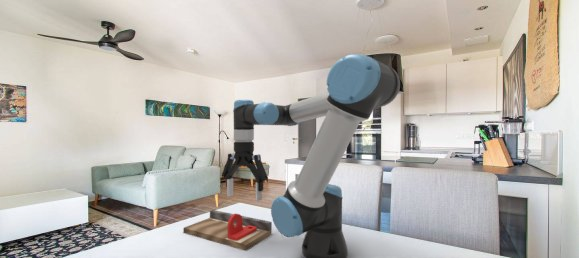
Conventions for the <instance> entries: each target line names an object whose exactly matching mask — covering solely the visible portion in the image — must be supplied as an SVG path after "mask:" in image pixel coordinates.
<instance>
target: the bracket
mask: <svg viewBox="0 0 579 258" xmlns="http://www.w3.org/2000/svg"><path fill="white" fill-rule="evenodd" d="M232 214H233V215H232V216H231V217H230V219H229V221H228V239H232V240H235V241H238V240H240V239H242V238H244V237H246V236H248V235H250V234H251V233H253V232H255V231H257V227H255V226H251V225H248V226H246V227H244V228H243V220H242V216H243V215H241V214H240V213H232ZM235 220H237V224H236V226H235V227H234V222H235Z"/></svg>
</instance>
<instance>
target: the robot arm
mask: <svg viewBox="0 0 579 258" xmlns="http://www.w3.org/2000/svg"><path fill="white" fill-rule="evenodd" d="M326 85H327V89H326V90H327V92H324V93H321V94H317V95H315V96H311V97H309V98H304V99H302V100H300V101H296V102H293V103H289V104H287V105H280V104H279V105H278V104H274V103H272V102H261V103H254V101H253V100H252V99H236V100H234V102H233V110H232V111H233V112H232V113H233V141H234V142H233V152H234V153H228V154H227V160H226V163H225V165H224V168H223V170H222V173H221V177H222V178H225V186H226V197H232V196H234V177H233V176H234V175H235V173H236V172H237V171H238V169H239V168H240V167H247V168H248V169H249V171H250V172H251V174H252V175H253V177H254V178H255V180H256V182H255V201H256V202H258V201H261V200H262V199H263V193H262V192H263V191H264V182H266V181H268V180H269V177H268V175H267V172H266V169H265V167H264V164H263V161H262V158H261V154H259V153H258V154H254V151H255V142H254V139H255V127H254V126H288V127H293V126H298V125H299V124H300V123H302V122H306V121H310V120H313V119H319V118H322V117H324V118H323V121H322V123H321V126H320V128H319V130H318V132H317V134H316V137H315V139H314V141H313V143H312V146H311V148H310V150H309V152H308V153H307V156H306V159H305V161H304V163H303V165H302V167H301V169H300V172H299V174H298V177H297V179H296V180H292V181H290V182H289V184H288V186H287V188H286V190H285V192H284V194H283V195H282V196H281V195H280V196H278V197H276V198H275V199H273V201H272V202H271V207H270V208H271V210H270V214H271V218H272V222H273V225H274V227H275V228H276V230H278V232H279V233H280V234H281V235H283V236H285V237H287V238H294V237H299V236H301V235H302V234H305V235H304V238H303V241H302V246H301V254H302V255H303V256H304V257H305V258H347V257H348V246H347V241H346V240H345V236H344V233H343V191H342V188H341V187H340V186H338V185H336V184H331V183H330V181H331V179H332V178H333V176H334V174H335V172H336V170H337V168H338V166H339V164H340V162H341V161H342V158H343V156H344V154H345V153H346V150H347V148H348V146H349V144H350V143H351V141H352V139H353V137H354V136H355V133H356V131H357V129H358V128H359V127H358V126H359V125H360V123H361V122H364V121H368V120H369V119H370V117H371V115H372V113H373V111H374V110H375V108H382V107H385V106H387V105H389V104H391V103H392V102H393V101H394V100H395V99H396V98H397V97H398V95H399V92H400V88H401V80H400V77H399V75H398V73H397V72H396V70H395V69H394V68H393V67H391V66H390V65H388V64H385V63H382V62H381V61H378V60H377V59H375V58H372V57H371V56H368V55H365V54H359V53H358V54H357V53H352V54H347V55H345V56H343V57H341V58H339V59H338V60H337V61H336V62H335V63H334V64H333V65H332V66H331V68H330V70H329V71H328V74H327V78H326Z"/></svg>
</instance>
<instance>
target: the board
mask: <svg viewBox="0 0 579 258" xmlns="http://www.w3.org/2000/svg"><path fill="white" fill-rule="evenodd" d="M233 214H234V213H229V212H226V211H222V210H221V211H220V210H216V209H212V210H209V217H208V218H206V219H202V220H200V221H198V222H195V223H193V224H189V225H187V226H184V227H183V233H184V234H187V235H191V236H194V237H197V238H201V239H204V240H208V241H211V242H214V243H218V244H220V245H221V244H222V245H225V246H228V247H233V248H234V249H235V248H236V249H239V250H243V251H248V250H249V249H251V248H252V247H254V246H255V245H257V244H259V243H260V242H262V241H264V240H265V239H267V238H269V237H271V235H272V234H273V233H272V231H273V229H272V228H273V227H272V222H273V221H269V220H264V219H261V218H260V219H259V218H253V217H250V216H246V215H245V216H244V215H241V216H242V220H243V228H244V227H246V226H248V225H251V226H255V227H257V231H255V232H253V233H251V234H250V235H248V236H246V237H244V238H242V239H240V240H238V241H235V240H232V239H228V221H229V219H230V217H231V216H232V215H233ZM236 224H237V220H235V222H234V227H235V226H236Z"/></svg>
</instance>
